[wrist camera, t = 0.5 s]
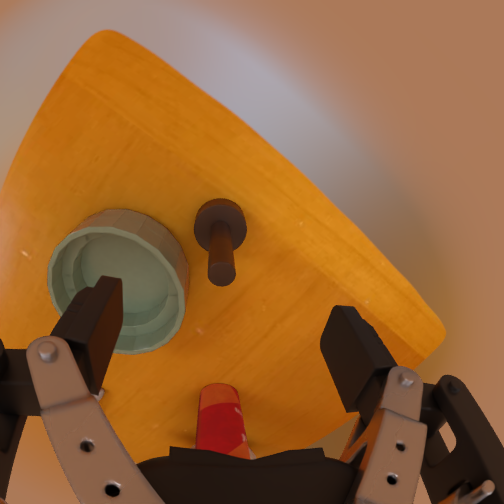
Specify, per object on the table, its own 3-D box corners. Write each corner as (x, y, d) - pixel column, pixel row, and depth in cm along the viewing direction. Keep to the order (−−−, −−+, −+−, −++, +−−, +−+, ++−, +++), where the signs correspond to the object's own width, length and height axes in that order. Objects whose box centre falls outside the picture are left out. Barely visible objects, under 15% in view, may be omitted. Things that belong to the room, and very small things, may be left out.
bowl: (60, 209, 29) (34, 227, 23) (187, 207, 31) (181, 226, 25) (83, 318, 35) (67, 347, 30) (191, 324, 37) (189, 357, 31)
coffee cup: (230, 413, 46) (237, 490, 32) (185, 401, 43) (182, 482, 30) (255, 386, 43) (268, 470, 29) (206, 371, 41) (206, 462, 27)
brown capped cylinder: (195, 197, 30) (184, 240, 20) (246, 199, 31) (260, 241, 21) (195, 244, 32) (186, 304, 22) (243, 245, 33) (255, 304, 23)
